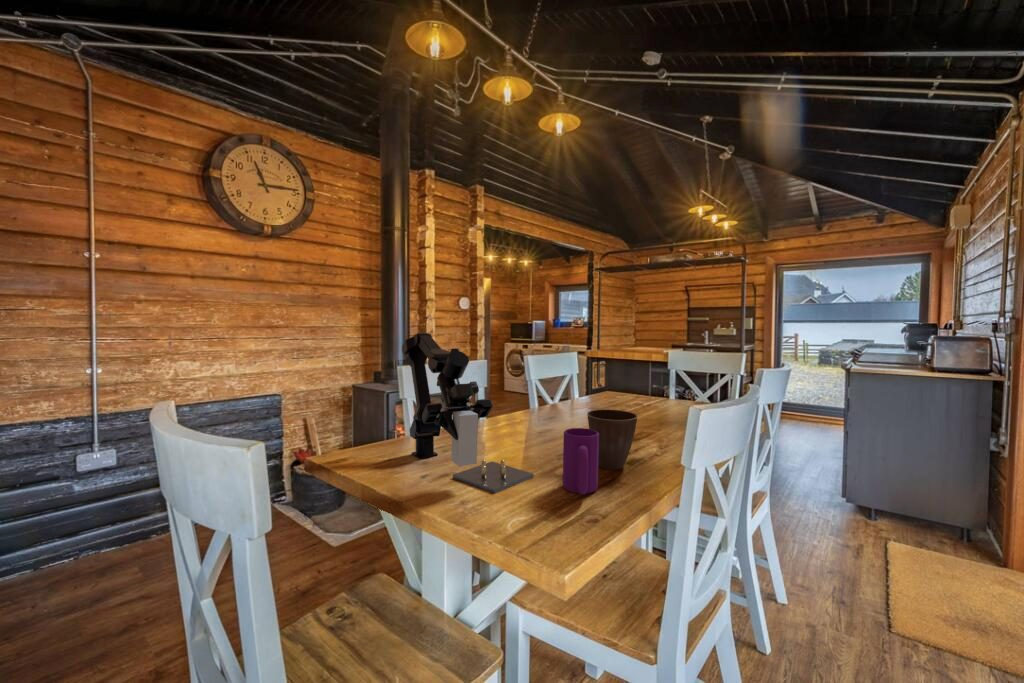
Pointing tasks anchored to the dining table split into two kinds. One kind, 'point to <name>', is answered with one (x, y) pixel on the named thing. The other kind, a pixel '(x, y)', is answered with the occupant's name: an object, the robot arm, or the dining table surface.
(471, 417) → the block
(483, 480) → the plate
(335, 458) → the dining table surface
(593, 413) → the plant pot
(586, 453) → the mug
